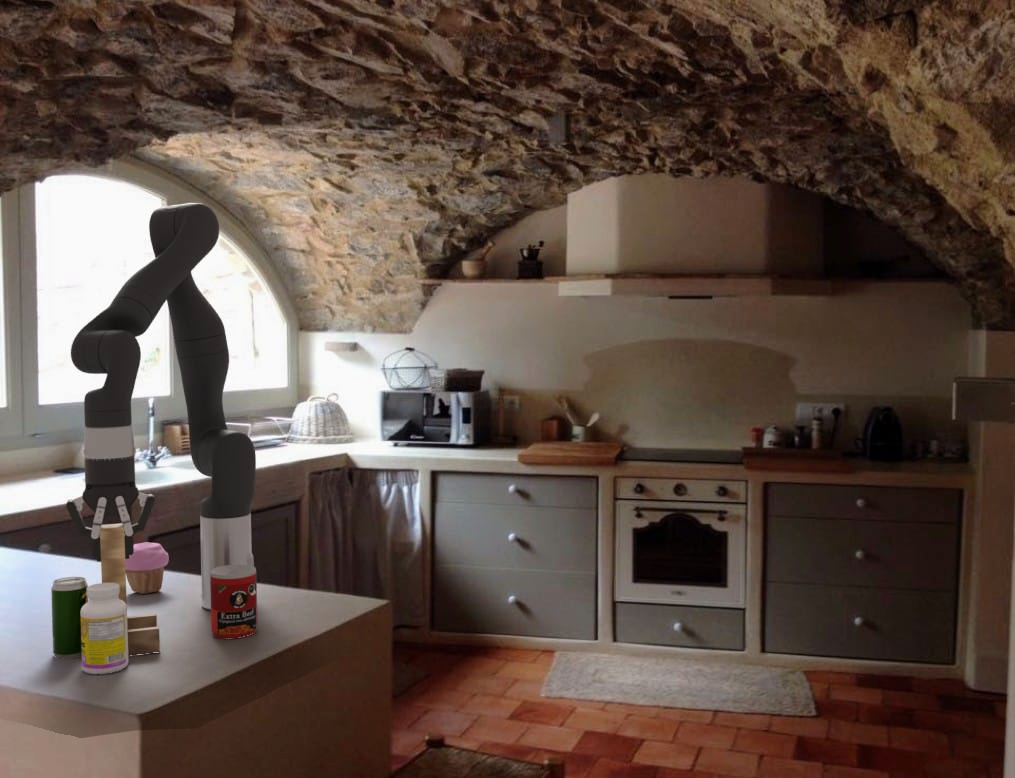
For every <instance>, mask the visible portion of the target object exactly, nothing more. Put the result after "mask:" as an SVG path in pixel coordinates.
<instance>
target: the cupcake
mask: <svg viewBox="0 0 1015 778" xmlns="http://www.w3.org/2000/svg"><path fill="white" fill-rule="evenodd" d="M133 546H134V552H133V555H129V559H125V568H126V581H127V582H128V584H129V587H130V589H131V591H132V592H134V593H138V594H142V595H143V594H144V595H145V594H151V593H154V592H159V591H160V590H161V589H162V587H163V581H164V571H165V567H166V566H167V565H168V563H169V561H170V559H169V557H170V556H169V553H168V552H167V551H166V550H165V549H164V548H163V546H162V545H161V543H157V542H149V541H145V542H141V543H135V544H133Z"/></svg>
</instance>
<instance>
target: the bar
mask: <svg viewBox="0 0 1015 778" xmlns="http://www.w3.org/2000/svg"><path fill="white" fill-rule="evenodd" d="M124 534H125V531H124V527H123V524H122V522H121V523H110V524H102V525H101V528H100V545H101V561H100V566H101V567H100V568H101V583H117V584H119V586H120V593H119V595H118V597H119V599H121V600H123V601H124V602H125V603H126V605H127V606H128V604H127V601H128V600H127V576H126V568H125V539H124ZM127 629H128V627H127Z"/></svg>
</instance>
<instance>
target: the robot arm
mask: <svg viewBox="0 0 1015 778" xmlns="http://www.w3.org/2000/svg"><path fill="white" fill-rule="evenodd" d="M148 223H149V225H148V226H149V227H148V229H149V230H148V231H149V232H148V233H149V238H150V242H151V247H152V250H153V253H154V259H152V260H151V261H150V262H148V263H147V264H145V265H144V266H143V267H142V268H140V269H139V270H137V272H135V273H133V274H132V275H131V276H130V278H129V279H127V281H125V283H124V284H123V285H122V286H121V288H120V290H119V291H118V293H117V294H116V295H115V296H114V298H113V299H112V301H111V303H110V305H109V306H108V307H106V308H105V309H103V310H102V311H101V312H99V314H98V315H96V316H95V317H94V318H92V319H91V320H90V321H89V322H88V323H86V324H85V325H84V326H83V327H82V328H81V329H80V330H79V331H78V333H77V334H76V335H75V337H74V338H73V340H72V344H71V348H70V359H71V362H72V364H73V365H74V367H75V368H76V369H77V370H78V371H80V372H82V373H84V374H85V373H86V374H89V375H90V374H92V375H99V374H101V375H106V378H105V380H104V384H103V386H102V387H100V388H95V389H92V390H90V391H88V392H87V393H86V394H85V395H84V400H83V402H84V404H83V407H84V408H83V409H84V411H83V412H84V413H83V414H84V435H83V455H84V456H83V458H84V460H83V461H84V481H85V483H84V484H85V487H84V491H83V492H82V495H81V496H78V497H76V498H73V499H67V501H66V505H65V506H66V509H67V511H68V513H69V515H70V518H71V519H72V522H73V524H74V526H75V527H76V530H77V533H78V535H79V536H81V537H88V538H90V540H91V552H92V553H91V555H92V557H93V559H96V562H101V545H100V528H101V525H103V524H102V523H103V520H104V518H108V517H119V518H120V521H121V523H122V524H123V527H124V539H125V559H129V555H133V552H134V546H133V545H134V535H135V534H137V533H140V532H143V531H144V530H145V529H146V526H147V522H148V520H149V517H150V515H151V512H152V509H153V507H154V504H155V500H156V498H155V495H154V494H152V493H148V494H147V493H143V492H140V490H139V488H138V487H137V485H136V466H135V465H136V464H135V460H136V459H135V450H136V448H135V439H134V433H133V426H132V425H133V422H132V421H133V420H132V418H133V417H132V396H133V392H134V389H135V385H136V380H137V376H138V372H139V368H140V365H141V357H142V355H141V354H142V353H141V347H140V344H139V341H138V339H137V337H140V336H142V335H144V333H146V332H147V330H148V329H149V328H150V326H151V324H152V323H153V322H154V320H155V318H156V317H157V315H158V313H159V312H160V310H161V308H163V306H164V304H165V302H166V303H167V308H168V312H169V317H170V322H171V328H172V335H173V343H174V346H175V347H174V348H175V351H176V352H175V353H176V358H177V362H178V367H179V371H180V375H181V383H182V388H183V395H184V398H185V399H184V400H185V405H186V410H187V421H188V422H187V423H188V434H189V436H188V437H189V449H190V456H191V460H192V463H193V466H194V467H195V468H196V470H197V471H198V472H199V473H201V475H204V476H205V477H211V488H210V494H209V495H208V496H207V497H205V498H203V499H202V500H201V501H200V506H199V511H200V512H199V513H200V514H199V515H200V516H199V519H200V520H199V522H200V523H199V525H200V567H201V568H200V569H201V570H200V571H201V573H200V574H201V575H200V576H201V606H202V607H203V608H204V609H206V610H211V589H210V574H211V570H212V569H214V568H217V567H221V566H226V565H250V566H253V567H255V566H254V565H255V563H254V554H253V553H252V513H251V512H252V504H253V502H254V499H255V495H256V494H255V493H256V470H257V469H256V467H257V457H256V456H257V455H256V449H255V446H254V445H255V444H254V442H253V440H252V439H251V438H250V437H249V435H247V434H246V433H244V432H242V431H237V430H230V429H228V426H227V422H226V417H225V411H224V406H223V395H224V388H225V385H226V380H227V377H228V376H227V375H228V371H229V367H230V366H229V365H230V353H229V351H230V350H229V346H228V340H227V336H226V335H227V334H226V329H225V325H224V323H223V321H222V320H223V319H222V318H221V316H220V315H219V313H218V312H217V311H216V309H214V307H213V305H212V304H211V302H209V300H208V299H207V298H206V297H205V296H204V294H203V293H202V292H201V290H200V289H199V287H198V286H197V284H196V281H195V280H194V277H193V275H192V271H193V270H194V269H195V268H196V266H197V265H198V264H199V263H200V262H202V260H203V259H205V258H206V256H207V255H209V254H210V252H212V250H213V249H214V248H215V246H216V244H217V243H218V239H219V235H220V224H219V220H218V216H217V215H216V213H215V212H214V210H213V209H212V208H211V207H210V206H208V205H206V204H204V203H201V202H187V203H181V204H174V205H173V204H172V205H166V206H161V207H158V208H156V209H154V211H153V212H152V214H151V215H150V218H149V222H148ZM137 499H138V500H139V505H140V507H142V508H141V511H140V514H139V516H138V519H137V521H136V523H133V524H132V522H131V519H130V514H129V511H130V509H131V508H132V506H133V505H134V503H135V502H136V500H137ZM83 503H85V504H86V506H87V507H89V509H90V511H92V512H93V513H94V516H93V517H94V519H93V523H92V526H91V527H89V526H87V525H86V522H85V521H84V518H83V517H82V514H81V511H82V510H83Z"/></svg>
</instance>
